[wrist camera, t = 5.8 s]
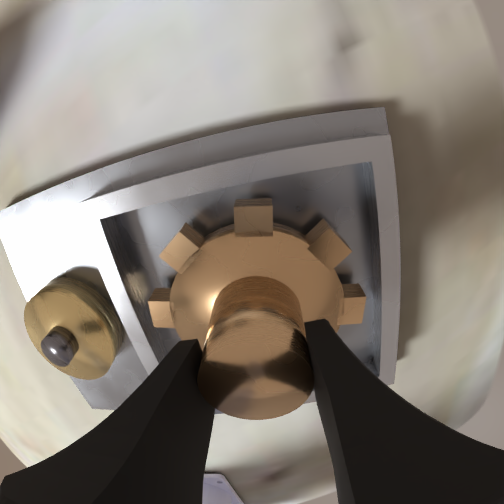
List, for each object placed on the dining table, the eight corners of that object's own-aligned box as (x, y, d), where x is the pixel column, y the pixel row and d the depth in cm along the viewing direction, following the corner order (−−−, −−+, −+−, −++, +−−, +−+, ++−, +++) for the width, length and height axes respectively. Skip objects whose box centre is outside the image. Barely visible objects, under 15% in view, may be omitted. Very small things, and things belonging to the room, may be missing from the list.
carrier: (388, 365, 15) (408, 411, 12) (97, 397, 17) (78, 436, 14) (375, 108, 11) (415, 103, 7) (5, 208, 12) (-40, 231, 9)
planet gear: (344, 368, 14) (365, 446, 10) (174, 371, 14) (152, 448, 10) (367, 197, 10) (427, 247, 6) (141, 204, 11) (79, 256, 7)
